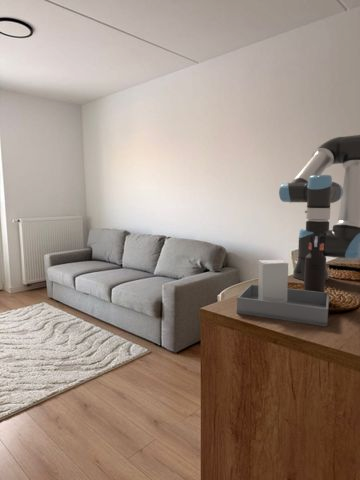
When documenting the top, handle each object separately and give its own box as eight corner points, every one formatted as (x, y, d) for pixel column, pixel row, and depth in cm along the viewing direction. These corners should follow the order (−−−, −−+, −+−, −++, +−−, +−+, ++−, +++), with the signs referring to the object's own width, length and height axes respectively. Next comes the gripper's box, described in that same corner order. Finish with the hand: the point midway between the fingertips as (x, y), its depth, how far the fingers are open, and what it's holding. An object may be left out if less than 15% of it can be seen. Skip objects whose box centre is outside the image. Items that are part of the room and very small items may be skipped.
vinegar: (326, 302, 115) (330, 244, 113) (306, 301, 116) (309, 244, 113) (319, 296, 122) (323, 242, 119) (300, 295, 123) (303, 241, 120)
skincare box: (281, 302, 112) (283, 259, 110) (287, 308, 106) (289, 262, 104) (256, 302, 112) (258, 259, 110) (261, 308, 106) (263, 262, 104)
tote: (249, 297, 121) (250, 284, 120) (328, 307, 110) (329, 292, 110) (236, 312, 105) (237, 297, 104) (327, 326, 94) (328, 309, 93)
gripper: (307, 218, 125) (304, 280, 128) (304, 221, 111) (301, 290, 114) (329, 219, 122) (326, 282, 125) (329, 222, 108) (325, 293, 111)
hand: (314, 286), depth 119 cm, fingers closed on vinegar, 2 cm apart
